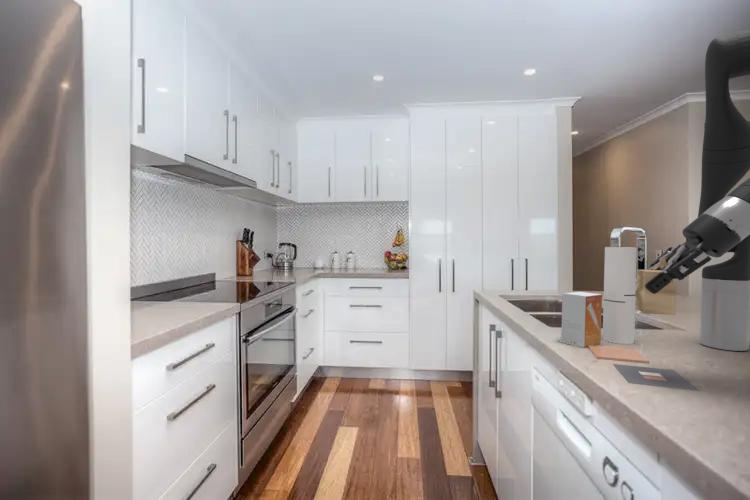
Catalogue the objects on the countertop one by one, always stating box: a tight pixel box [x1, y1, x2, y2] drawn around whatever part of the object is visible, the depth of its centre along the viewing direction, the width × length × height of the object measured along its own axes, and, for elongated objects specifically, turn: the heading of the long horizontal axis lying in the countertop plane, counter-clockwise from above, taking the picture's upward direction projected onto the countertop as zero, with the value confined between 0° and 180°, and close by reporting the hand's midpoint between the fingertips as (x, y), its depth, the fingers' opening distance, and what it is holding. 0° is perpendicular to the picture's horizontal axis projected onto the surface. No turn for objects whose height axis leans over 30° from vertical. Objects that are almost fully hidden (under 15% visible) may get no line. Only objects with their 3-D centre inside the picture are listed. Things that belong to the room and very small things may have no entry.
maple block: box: [635, 269, 677, 316], centre depth 75 cm, size 5×5×8 cm
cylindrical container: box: [602, 246, 637, 345], centre depth 103 cm, size 7×7×25 cm
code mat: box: [612, 363, 701, 392], centre depth 76 cm, size 12×11×1 cm
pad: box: [587, 345, 650, 365], centre depth 90 cm, size 10×10×1 cm
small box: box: [560, 291, 603, 348], centre depth 100 cm, size 8×6×13 cm
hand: (644, 288), depth 76 cm, fingers closed on maple block, 5 cm apart
